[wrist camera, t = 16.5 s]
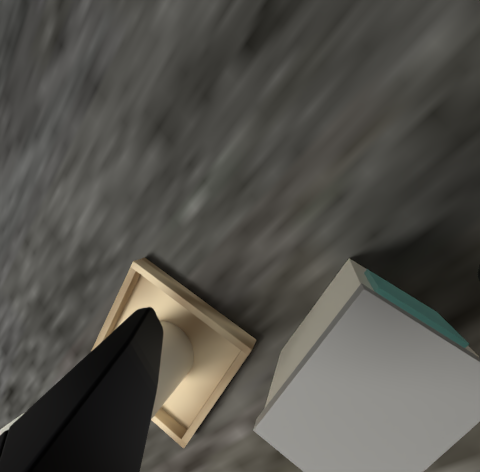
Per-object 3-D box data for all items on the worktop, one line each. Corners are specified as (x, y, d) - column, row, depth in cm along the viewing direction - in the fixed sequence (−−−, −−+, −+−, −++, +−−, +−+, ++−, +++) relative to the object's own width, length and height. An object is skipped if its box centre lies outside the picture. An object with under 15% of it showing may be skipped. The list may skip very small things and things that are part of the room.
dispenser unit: (437, 307, 17) (520, 385, 10) (350, 404, 20) (365, 522, 12) (349, 253, 18) (365, 286, 11) (277, 351, 21) (253, 430, 14)
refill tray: (256, 339, 21) (251, 349, 20) (191, 434, 24) (183, 448, 23) (144, 257, 23) (133, 261, 22) (98, 353, 27) (86, 362, 25)
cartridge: (204, 347, 22) (28, 562, 9) (177, 391, 24) (-10, 632, 10) (155, 308, 23) (-68, 450, 10) (131, 353, 25) (-91, 528, 11)
